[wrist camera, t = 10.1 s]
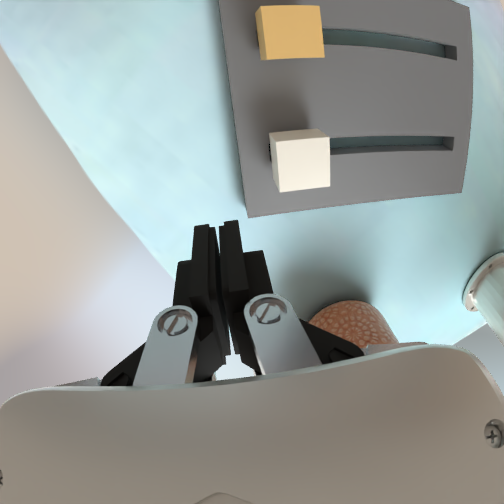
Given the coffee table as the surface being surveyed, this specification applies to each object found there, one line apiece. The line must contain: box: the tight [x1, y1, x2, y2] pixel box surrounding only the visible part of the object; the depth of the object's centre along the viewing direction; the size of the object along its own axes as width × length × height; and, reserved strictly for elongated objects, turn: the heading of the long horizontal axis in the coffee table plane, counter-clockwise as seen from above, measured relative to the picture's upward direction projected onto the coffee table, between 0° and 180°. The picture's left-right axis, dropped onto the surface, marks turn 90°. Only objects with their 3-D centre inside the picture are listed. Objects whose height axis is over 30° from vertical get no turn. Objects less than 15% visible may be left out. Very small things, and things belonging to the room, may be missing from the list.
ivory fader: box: [269, 129, 330, 192], centre depth 24 cm, size 4×4×5 cm
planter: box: [308, 300, 399, 348], centre depth 37 cm, size 12×12×11 cm
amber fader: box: [255, 5, 325, 60], centre depth 18 cm, size 4×4×5 cm
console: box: [218, 0, 473, 218], centre depth 23 cm, size 25×22×2 cm
